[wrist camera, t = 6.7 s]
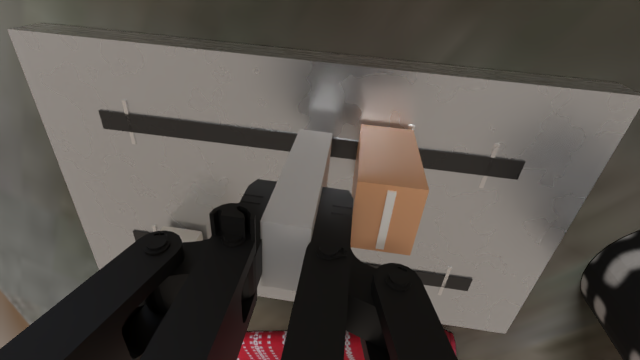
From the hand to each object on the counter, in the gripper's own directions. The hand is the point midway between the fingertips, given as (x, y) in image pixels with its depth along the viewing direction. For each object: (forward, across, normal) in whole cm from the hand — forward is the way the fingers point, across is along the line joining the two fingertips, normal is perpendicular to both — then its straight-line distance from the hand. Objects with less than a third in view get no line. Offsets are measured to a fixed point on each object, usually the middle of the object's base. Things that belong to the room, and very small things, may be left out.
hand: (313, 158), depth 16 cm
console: (+3, -1, -4) cm, 5 cm away
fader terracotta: (+1, +3, 0) cm, 3 cm away
